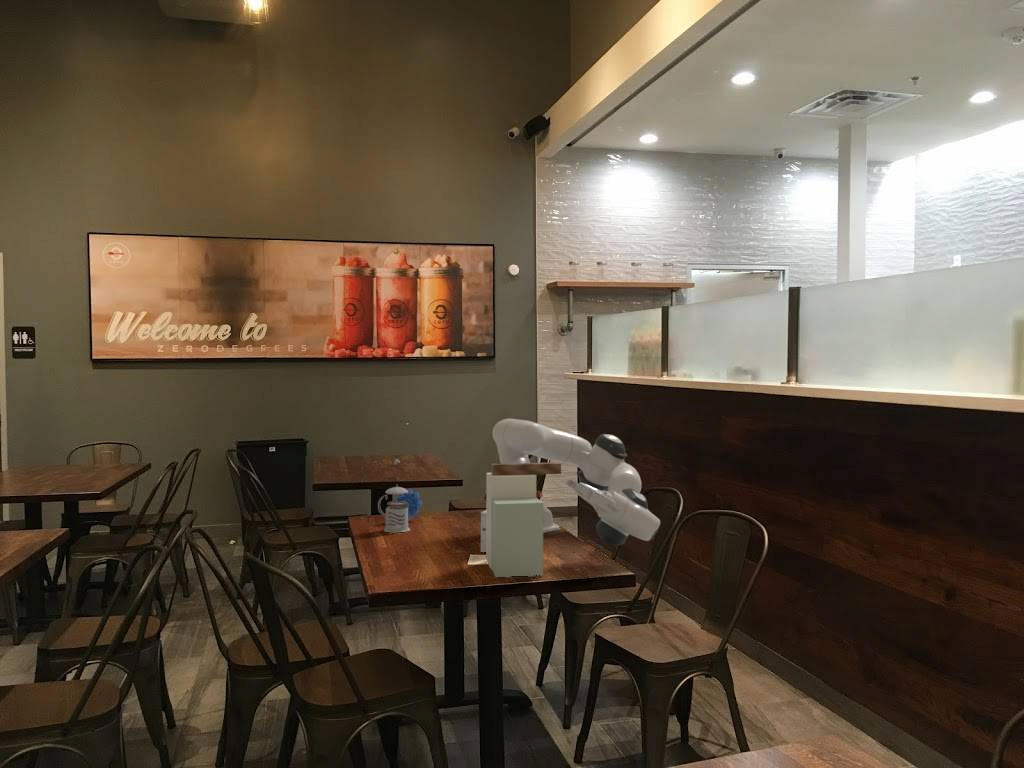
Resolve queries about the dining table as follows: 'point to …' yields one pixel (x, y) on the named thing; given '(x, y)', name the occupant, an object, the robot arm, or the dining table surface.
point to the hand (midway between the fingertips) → (571, 483)
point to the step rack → (513, 526)
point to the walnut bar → (525, 468)
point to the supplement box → (483, 531)
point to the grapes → (410, 503)
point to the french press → (396, 511)
